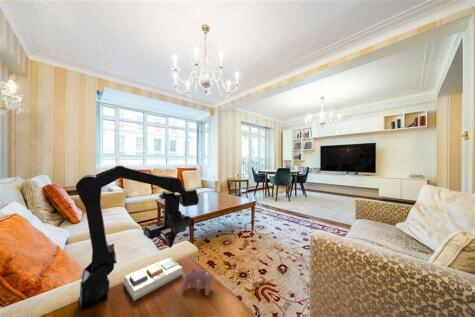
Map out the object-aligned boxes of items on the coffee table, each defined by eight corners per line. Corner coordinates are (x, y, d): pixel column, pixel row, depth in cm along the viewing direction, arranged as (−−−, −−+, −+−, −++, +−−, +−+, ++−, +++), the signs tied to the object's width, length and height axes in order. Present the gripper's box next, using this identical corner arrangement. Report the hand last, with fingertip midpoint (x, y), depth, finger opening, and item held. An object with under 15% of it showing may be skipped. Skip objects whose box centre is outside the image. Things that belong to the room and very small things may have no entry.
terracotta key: (151, 279, 61) (151, 273, 61) (146, 273, 64) (146, 268, 64) (162, 273, 64) (162, 268, 64) (157, 268, 67) (157, 263, 67)
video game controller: (210, 293, 61) (213, 270, 64) (208, 297, 57) (211, 272, 60) (183, 290, 62) (188, 267, 65) (179, 293, 58) (183, 269, 61)
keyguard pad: (133, 300, 54) (134, 290, 54) (123, 284, 61) (124, 275, 61) (181, 274, 67) (182, 266, 67) (169, 263, 74) (169, 256, 74)
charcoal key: (134, 287, 57) (134, 281, 57) (129, 281, 60) (130, 275, 60) (147, 281, 60) (147, 275, 60) (142, 275, 63) (142, 269, 63)
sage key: (165, 274, 65) (166, 269, 65) (160, 269, 68) (161, 264, 68) (176, 269, 69) (176, 264, 69) (170, 264, 71) (171, 259, 71)
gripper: (157, 219, 56) (155, 266, 56) (203, 208, 70) (201, 246, 70) (143, 211, 63) (142, 253, 63) (187, 202, 77) (186, 237, 78)
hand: (170, 247), depth 68 cm, fingers closed
